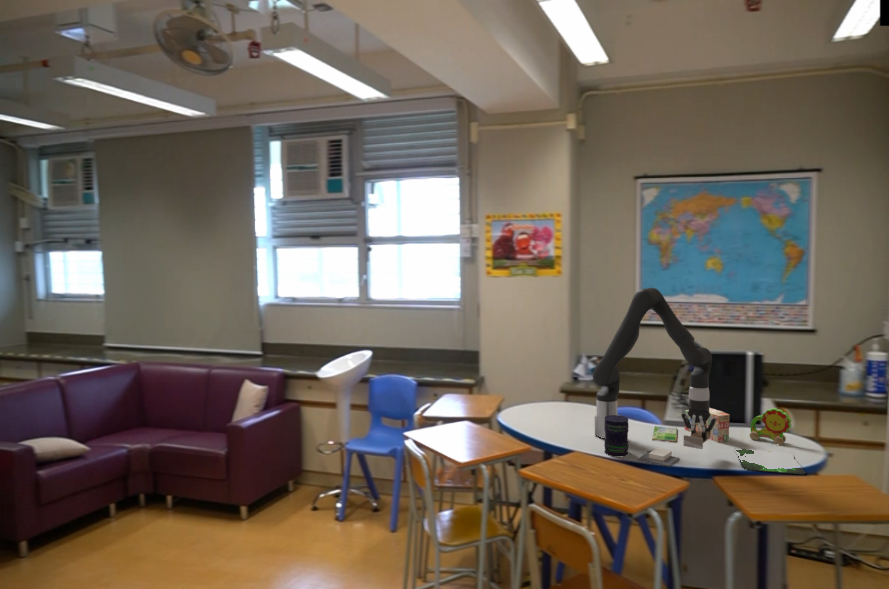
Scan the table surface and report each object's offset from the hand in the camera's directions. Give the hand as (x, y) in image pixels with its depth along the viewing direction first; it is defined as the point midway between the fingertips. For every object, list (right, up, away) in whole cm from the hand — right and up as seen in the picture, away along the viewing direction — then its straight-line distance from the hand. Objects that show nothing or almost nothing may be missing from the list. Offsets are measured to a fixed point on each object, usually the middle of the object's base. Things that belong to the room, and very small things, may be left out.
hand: (698, 439), depth 244 cm
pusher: (+1, -1, +1) cm, 2 cm away
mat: (-15, -9, +4) cm, 18 cm away
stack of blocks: (+18, -6, +34) cm, 39 cm away
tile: (-11, -7, +9) cm, 15 cm away
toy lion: (+41, -6, +22) cm, 47 cm away
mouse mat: (+28, -9, 0) cm, 29 cm away
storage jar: (-29, -9, +13) cm, 33 cm away
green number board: (-1, -7, +36) cm, 36 cm away
